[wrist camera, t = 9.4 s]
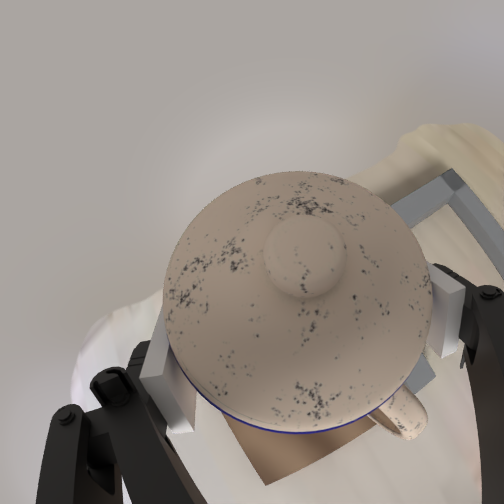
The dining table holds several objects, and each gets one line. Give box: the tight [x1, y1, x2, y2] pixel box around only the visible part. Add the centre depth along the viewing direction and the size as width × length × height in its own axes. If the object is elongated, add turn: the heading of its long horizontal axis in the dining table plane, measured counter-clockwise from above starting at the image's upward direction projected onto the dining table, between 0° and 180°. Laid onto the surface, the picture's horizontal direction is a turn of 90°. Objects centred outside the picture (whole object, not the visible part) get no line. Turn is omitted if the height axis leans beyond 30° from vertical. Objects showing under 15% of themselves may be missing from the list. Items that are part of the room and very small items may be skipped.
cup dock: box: [390, 168, 504, 394], centre depth 30 cm, size 23×18×2 cm
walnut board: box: [222, 412, 377, 486], centre depth 28 cm, size 14×18×1 cm
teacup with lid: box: [163, 171, 433, 440], centre depth 12 cm, size 12×9×12 cm
